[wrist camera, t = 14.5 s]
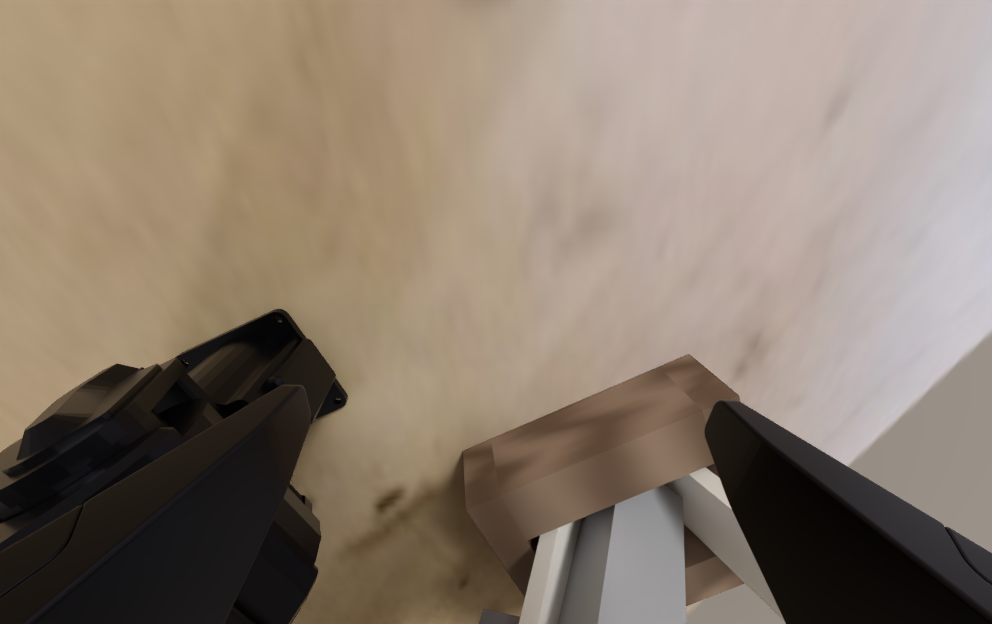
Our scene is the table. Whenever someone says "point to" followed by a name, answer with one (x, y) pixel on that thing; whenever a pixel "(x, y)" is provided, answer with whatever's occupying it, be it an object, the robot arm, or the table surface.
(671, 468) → the box
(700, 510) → the panel
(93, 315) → the table surface
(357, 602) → the table surface
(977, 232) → the table surface
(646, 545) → the grey stone block
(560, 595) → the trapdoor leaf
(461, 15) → the table surface
